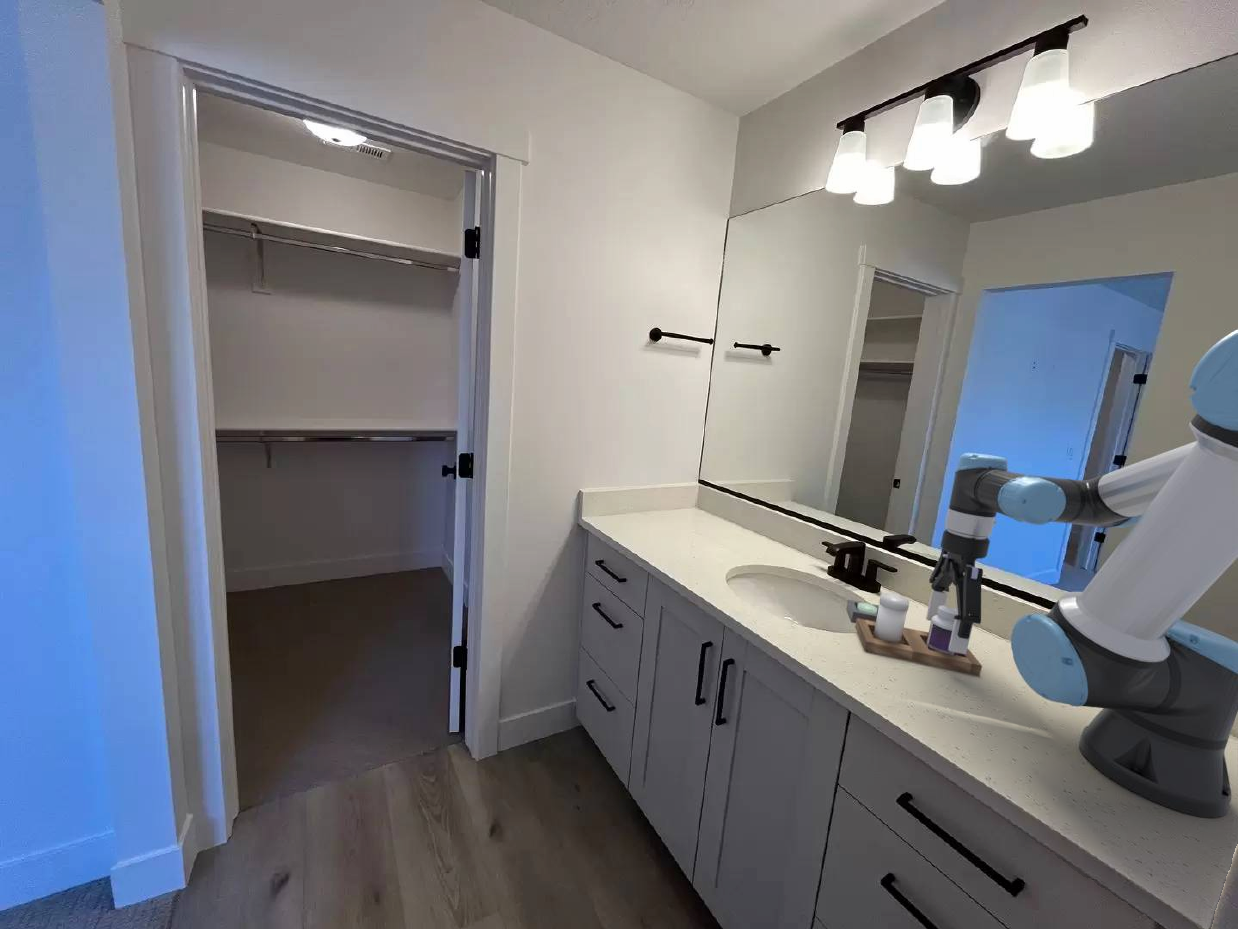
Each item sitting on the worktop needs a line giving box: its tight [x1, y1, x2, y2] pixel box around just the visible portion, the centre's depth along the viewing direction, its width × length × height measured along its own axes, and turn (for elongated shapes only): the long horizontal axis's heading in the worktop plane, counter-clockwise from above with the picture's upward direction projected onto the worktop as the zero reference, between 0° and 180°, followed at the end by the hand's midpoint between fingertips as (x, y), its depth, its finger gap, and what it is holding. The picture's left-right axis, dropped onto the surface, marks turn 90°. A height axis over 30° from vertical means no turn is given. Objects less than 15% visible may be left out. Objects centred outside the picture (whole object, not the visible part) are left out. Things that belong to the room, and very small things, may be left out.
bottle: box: [873, 592, 910, 644], centre depth 103 cm, size 5×5×10 cm
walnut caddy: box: [855, 618, 983, 676], centre depth 102 cm, size 20×11×3 cm, turn 74°
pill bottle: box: [926, 605, 958, 656], centre depth 100 cm, size 5×5×10 cm
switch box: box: [845, 599, 879, 624], centre depth 115 cm, size 7×7×4 cm
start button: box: [857, 602, 877, 614], centre depth 115 cm, size 4×4×3 cm
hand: (944, 635), depth 101 cm, fingers open, 13 cm apart
